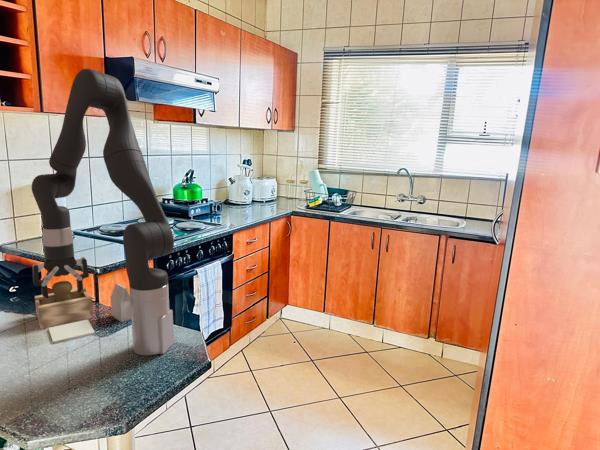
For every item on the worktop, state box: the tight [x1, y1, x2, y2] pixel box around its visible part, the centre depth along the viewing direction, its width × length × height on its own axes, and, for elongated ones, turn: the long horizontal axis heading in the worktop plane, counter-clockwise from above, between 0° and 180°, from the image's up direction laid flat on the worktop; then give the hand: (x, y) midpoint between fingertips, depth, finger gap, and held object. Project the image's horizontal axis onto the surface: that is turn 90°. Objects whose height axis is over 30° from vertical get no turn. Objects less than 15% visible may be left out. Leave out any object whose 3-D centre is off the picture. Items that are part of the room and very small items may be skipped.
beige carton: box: [110, 283, 132, 323], centre depth 124 cm, size 4×7×10 cm, turn 48°
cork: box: [51, 280, 73, 303], centre depth 123 cm, size 6×6×11 cm
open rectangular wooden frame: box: [34, 287, 94, 330], centre depth 123 cm, size 14×11×6 cm
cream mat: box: [48, 319, 96, 345], centre depth 114 cm, size 10×10×1 cm
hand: (63, 294), depth 123 cm, fingers open, 8 cm apart
